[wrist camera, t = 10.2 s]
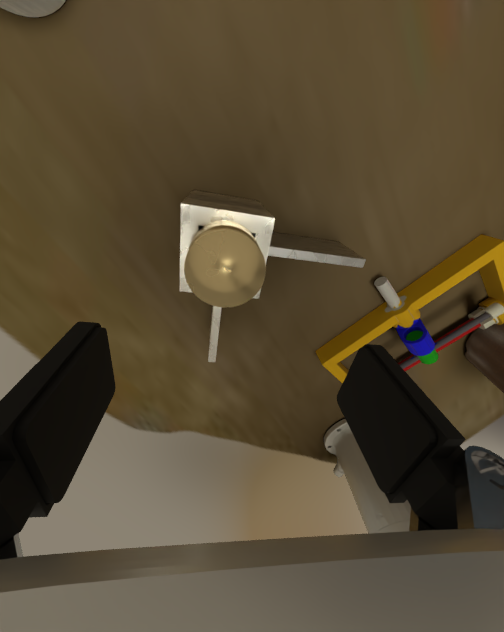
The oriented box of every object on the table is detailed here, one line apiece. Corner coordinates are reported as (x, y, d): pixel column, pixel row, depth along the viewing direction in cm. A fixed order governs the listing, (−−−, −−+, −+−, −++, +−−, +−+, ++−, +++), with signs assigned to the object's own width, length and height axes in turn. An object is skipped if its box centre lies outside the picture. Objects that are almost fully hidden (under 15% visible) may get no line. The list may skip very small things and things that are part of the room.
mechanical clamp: (586, 306, 30) (369, 425, 38) (531, 284, 35) (351, 393, 44) (576, 178, 21) (302, 368, 30) (506, 175, 27) (290, 337, 35)
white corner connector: (306, 337, 35) (330, 386, 27) (188, 329, 32) (178, 381, 24) (348, 215, 27) (399, 237, 19) (193, 189, 24) (180, 203, 16)
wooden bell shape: (244, 258, 27) (258, 310, 18) (196, 252, 26) (183, 304, 17) (252, 207, 24) (273, 237, 15) (198, 199, 23) (185, 224, 14)
